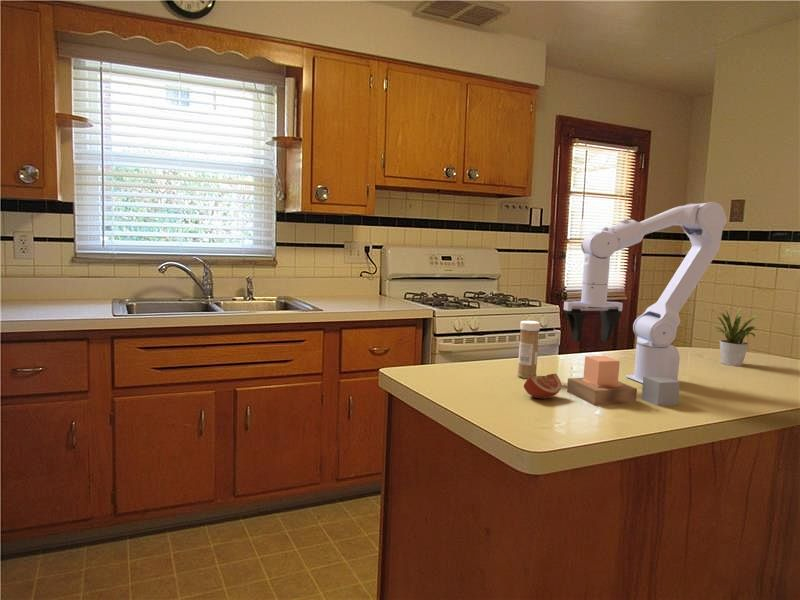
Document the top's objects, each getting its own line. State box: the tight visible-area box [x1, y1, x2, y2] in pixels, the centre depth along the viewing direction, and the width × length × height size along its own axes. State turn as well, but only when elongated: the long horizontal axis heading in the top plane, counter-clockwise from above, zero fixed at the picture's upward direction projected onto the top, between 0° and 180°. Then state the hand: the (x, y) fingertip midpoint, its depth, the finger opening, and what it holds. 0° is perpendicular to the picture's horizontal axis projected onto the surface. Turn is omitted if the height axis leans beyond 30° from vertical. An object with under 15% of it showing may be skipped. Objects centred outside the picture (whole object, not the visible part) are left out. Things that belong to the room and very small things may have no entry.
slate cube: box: [641, 376, 681, 407], centre depth 123 cm, size 5×5×5 cm
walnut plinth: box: [566, 377, 638, 406], centre depth 125 cm, size 10×10×4 cm
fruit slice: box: [523, 373, 563, 399], centre depth 123 cm, size 8×7×5 cm
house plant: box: [706, 306, 761, 367], centre depth 165 cm, size 14×14×16 cm
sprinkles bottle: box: [517, 320, 541, 380], centre depth 140 cm, size 5×5×14 cm
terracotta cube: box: [582, 355, 621, 385], centre depth 125 cm, size 5×5×5 cm
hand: (590, 340), depth 139 cm, fingers open, 7 cm apart
